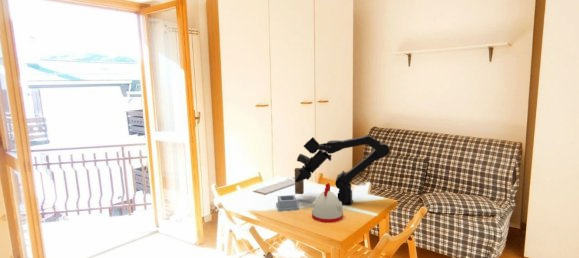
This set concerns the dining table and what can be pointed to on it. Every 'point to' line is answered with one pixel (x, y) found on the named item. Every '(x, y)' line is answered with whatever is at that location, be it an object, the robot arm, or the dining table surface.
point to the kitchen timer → (327, 207)
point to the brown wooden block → (298, 183)
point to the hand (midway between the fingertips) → (296, 180)
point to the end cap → (287, 203)
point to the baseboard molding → (275, 187)
